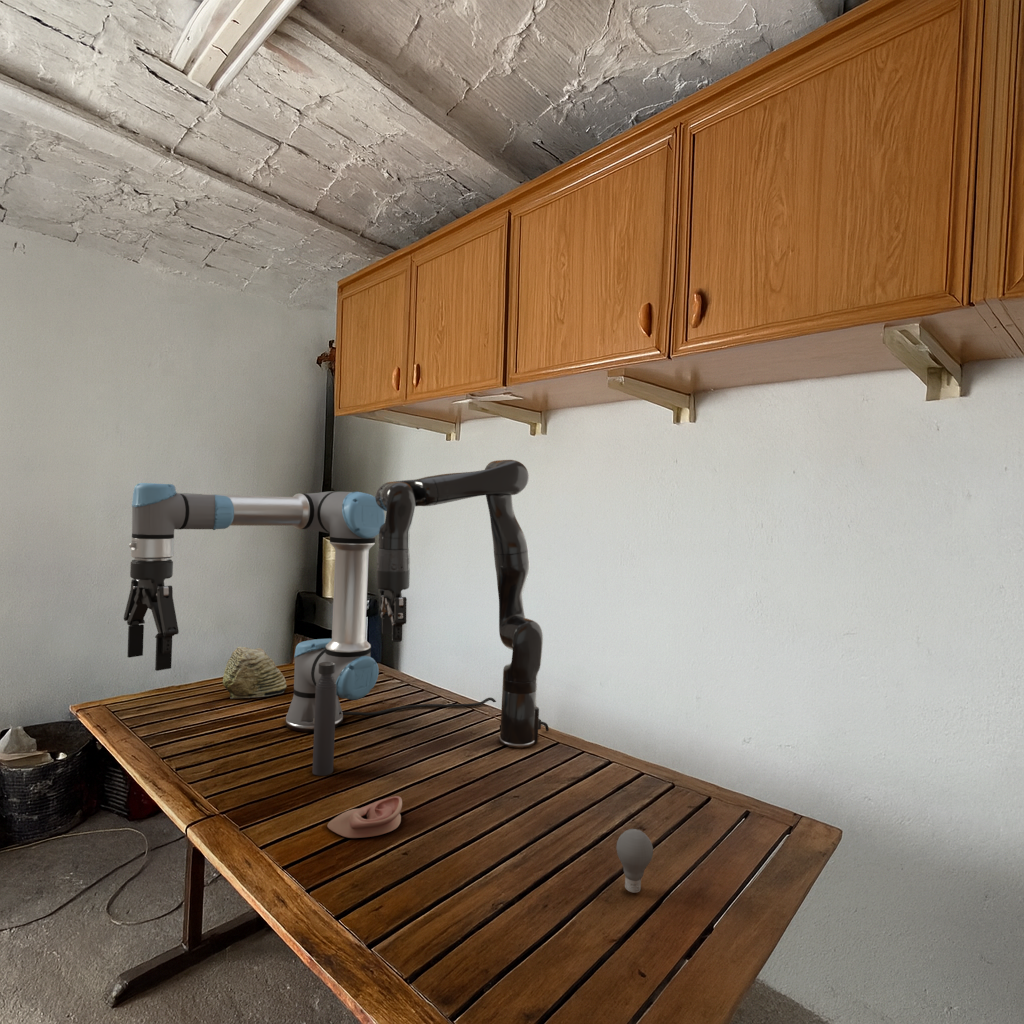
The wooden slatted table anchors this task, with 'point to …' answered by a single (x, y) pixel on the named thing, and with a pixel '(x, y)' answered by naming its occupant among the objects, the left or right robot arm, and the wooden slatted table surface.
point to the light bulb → (634, 857)
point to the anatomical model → (369, 819)
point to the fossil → (252, 674)
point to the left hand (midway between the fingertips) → (148, 662)
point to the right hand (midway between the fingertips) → (391, 637)
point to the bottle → (324, 726)
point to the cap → (326, 668)
